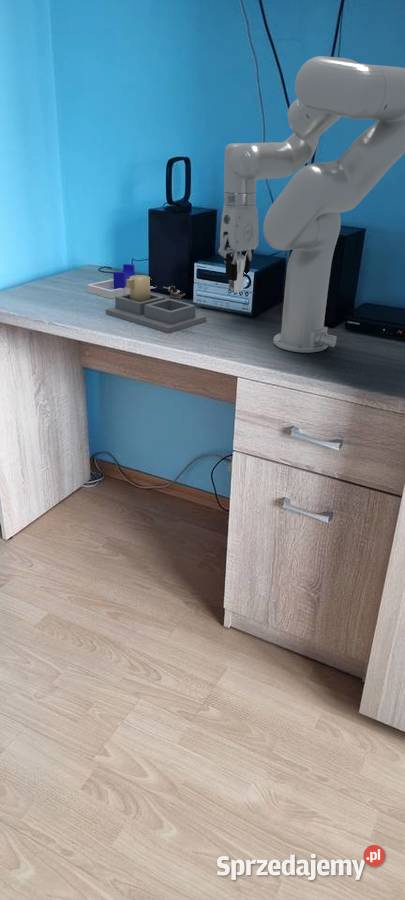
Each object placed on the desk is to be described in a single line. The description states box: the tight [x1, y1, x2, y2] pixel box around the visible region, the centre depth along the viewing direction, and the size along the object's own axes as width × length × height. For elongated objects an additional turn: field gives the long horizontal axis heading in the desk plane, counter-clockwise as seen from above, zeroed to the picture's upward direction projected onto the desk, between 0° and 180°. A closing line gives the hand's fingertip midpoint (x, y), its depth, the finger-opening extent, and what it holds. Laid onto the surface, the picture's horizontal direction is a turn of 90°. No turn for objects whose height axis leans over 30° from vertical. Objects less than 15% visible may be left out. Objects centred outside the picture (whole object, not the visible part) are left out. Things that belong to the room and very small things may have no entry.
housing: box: [105, 274, 207, 334], centre depth 167 cm, size 22×14×9 cm, turn 50°
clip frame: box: [86, 278, 157, 299], centre depth 192 cm, size 10×18×2 cm, turn 140°
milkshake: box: [228, 251, 248, 293], centre depth 164 cm, size 4×5×10 cm
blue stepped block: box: [112, 263, 136, 290], centre depth 191 cm, size 12×4×6 cm, turn 171°
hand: (237, 277), depth 165 cm, fingers closed on milkshake, 4 cm apart
